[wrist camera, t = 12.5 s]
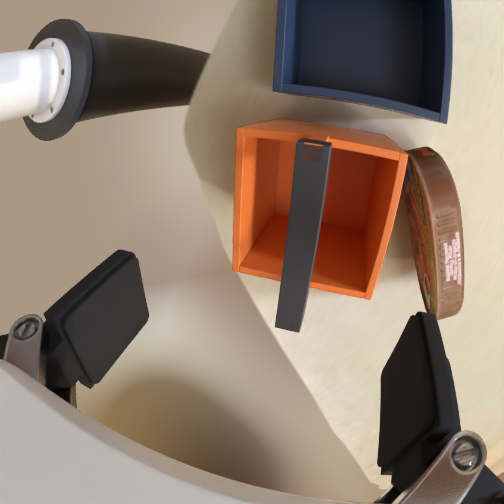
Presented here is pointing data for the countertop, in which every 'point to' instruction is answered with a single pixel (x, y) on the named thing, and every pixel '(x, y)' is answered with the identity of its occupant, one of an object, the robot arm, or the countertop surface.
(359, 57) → the bin outer
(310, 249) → the basket
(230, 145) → the countertop surface
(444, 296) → the tin
